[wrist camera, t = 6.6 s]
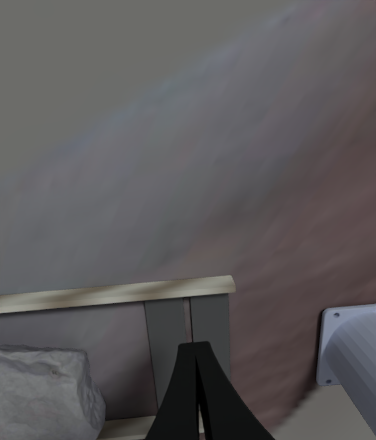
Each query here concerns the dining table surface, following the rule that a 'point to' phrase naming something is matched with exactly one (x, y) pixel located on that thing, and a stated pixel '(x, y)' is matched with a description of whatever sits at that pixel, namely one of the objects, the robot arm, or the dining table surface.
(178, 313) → the tiles
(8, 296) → the grey cream flat frame
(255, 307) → the dining table surface
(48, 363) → the stone block
